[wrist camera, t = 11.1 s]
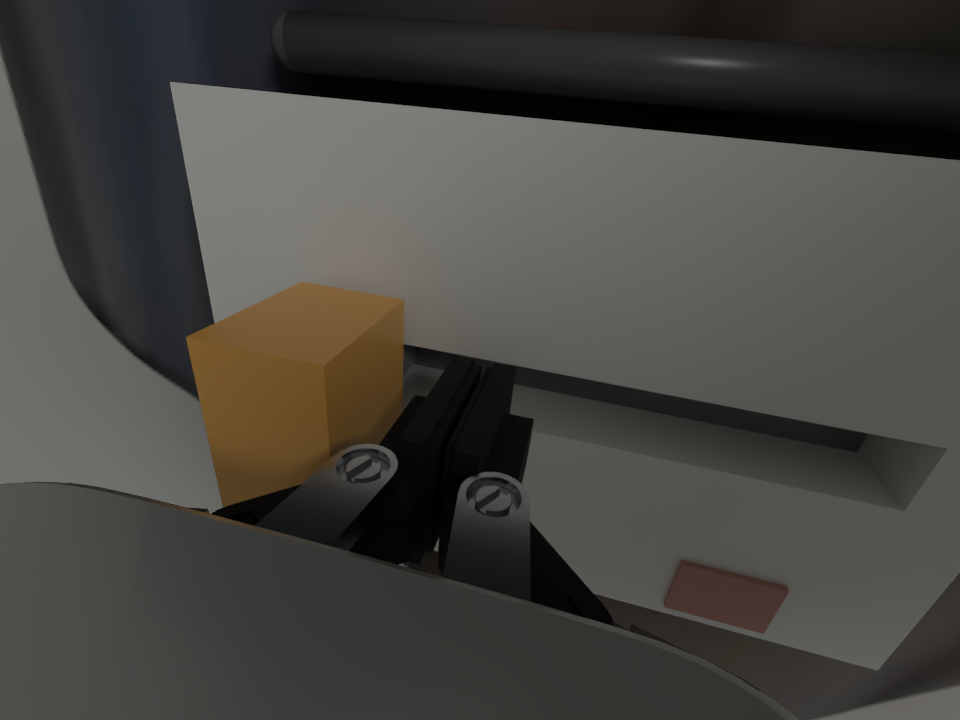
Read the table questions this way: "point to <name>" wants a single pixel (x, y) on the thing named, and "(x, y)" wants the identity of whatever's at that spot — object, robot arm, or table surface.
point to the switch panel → (643, 297)
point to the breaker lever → (298, 384)
